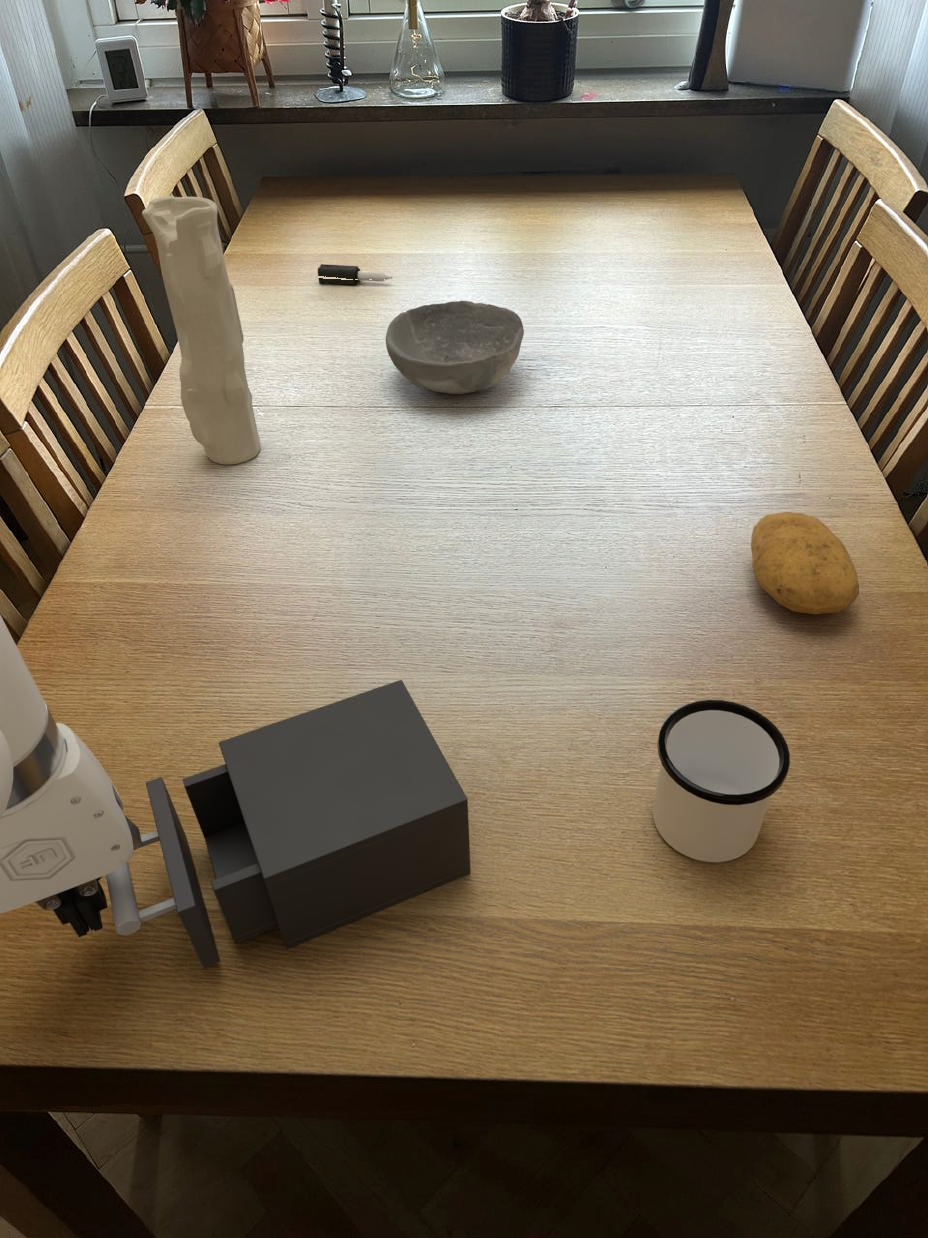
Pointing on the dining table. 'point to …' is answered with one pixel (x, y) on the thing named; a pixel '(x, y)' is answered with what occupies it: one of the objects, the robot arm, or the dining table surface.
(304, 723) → the dark grey drawer box
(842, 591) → the potato
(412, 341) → the bowl
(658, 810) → the mug
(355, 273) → the black and grey marker
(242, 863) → the drawer front with handle
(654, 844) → the dining table surface
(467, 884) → the dining table surface
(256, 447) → the vase
